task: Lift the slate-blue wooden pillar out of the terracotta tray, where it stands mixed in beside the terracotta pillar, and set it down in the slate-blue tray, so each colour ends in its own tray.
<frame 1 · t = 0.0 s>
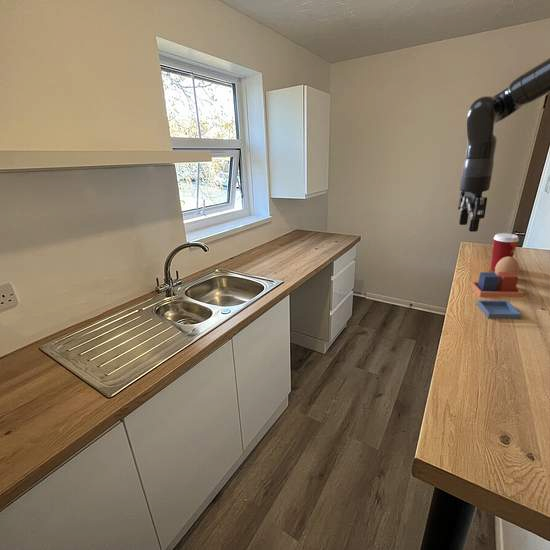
hand: (467, 227, 95), 23 cm above the table, tool pointing down, fingers open, 8 cm apart
egg: (504, 280, 109), on the table
paper cup: (498, 271, 116), on the table
terracotta pillar: (504, 291, 100), resting on terracotta tray
slate tray: (497, 312, 90), on the table
slate pillar: (486, 290, 102), resting on terracotta tray
terracotta tray: (495, 292, 101), on the table
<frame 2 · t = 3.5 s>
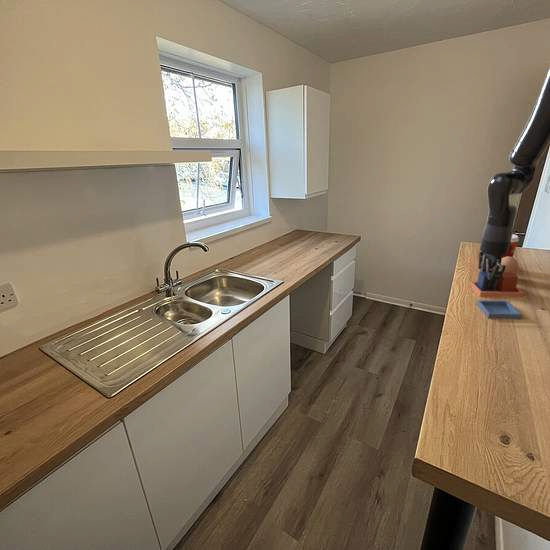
hand: (485, 285, 102), 2 cm above the table, tool pointing down, fingers closed on slate pillar, 4 cm apart
slate pillar: (485, 289, 102), resting on terracotta tray, touching gripper
everything else where it was.
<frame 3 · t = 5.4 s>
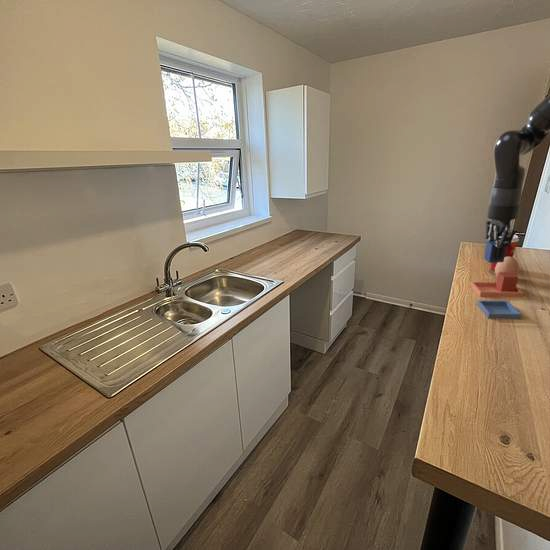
hand: (494, 255, 97), 13 cm above the table, tool pointing down, fingers closed on slate pillar, 4 cm apart
slate pillar: (493, 260, 97), point 11 cm above the table, touching gripper
everything else where it was.
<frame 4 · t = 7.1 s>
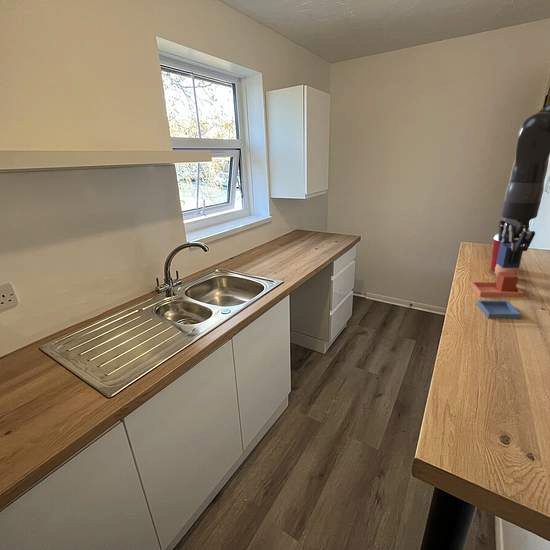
hand: (508, 260, 84), 16 cm above the table, tool pointing down, fingers closed on slate pillar, 4 cm apart
slate pillar: (507, 265, 85), point 15 cm above the table, touching gripper
everything else where it was.
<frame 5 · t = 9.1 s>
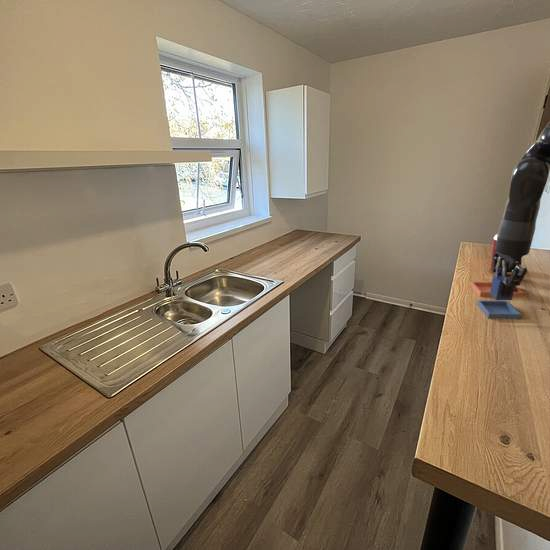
hand: (501, 292, 87), 7 cm above the table, tool pointing down, fingers closed on slate pillar, 4 cm apart
slate pillar: (500, 296, 88), point 5 cm above the table, touching gripper
everything else where it was.
when the fingers open (2 cm above the table, at t = 11.0 s): slate pillar stays where it is, resting on slate tray.
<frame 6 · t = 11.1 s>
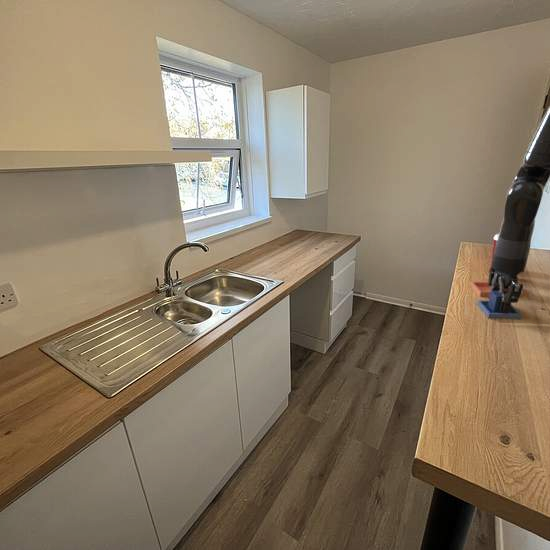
hand: (498, 306, 89), 2 cm above the table, tool pointing down, fingers open, 5 cm apart
slate pillar: (497, 311, 90), resting on slate tray
everything else where it was.
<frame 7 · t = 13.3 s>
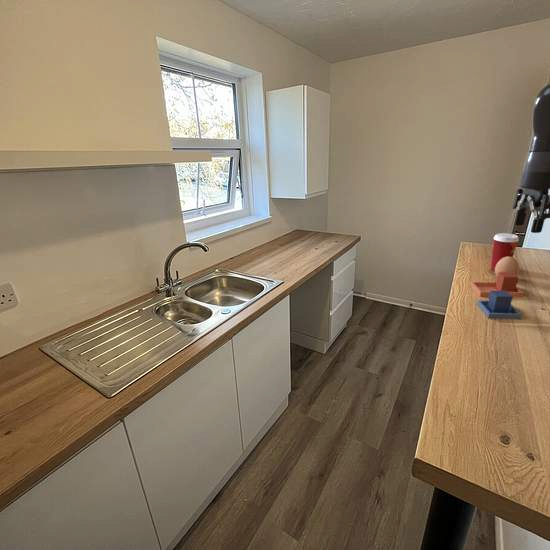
hand: (526, 228, 86), 24 cm above the table, tool pointing down, fingers open, 8 cm apart
nothing on the table moved.
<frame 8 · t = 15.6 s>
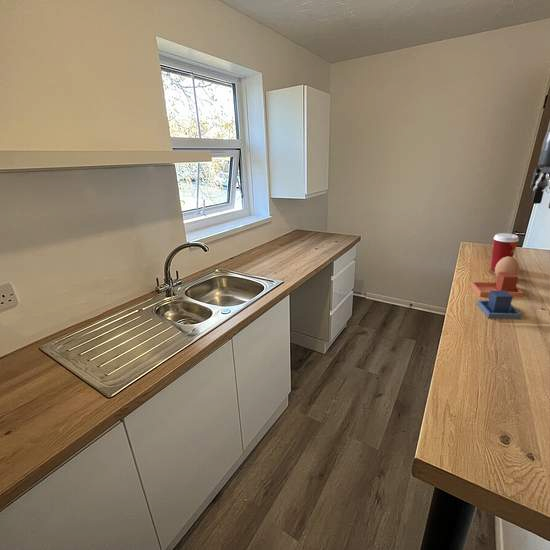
hand: (544, 205, 90), 28 cm above the table, tool pointing down, fingers open, 8 cm apart
nothing on the table moved.
at the end: slate pillar 0.1 cm off-centre in the slate tray, point 0.4 cm above the slate tray's base; slate pillar tilted 0°; terracotta pillar inside the target area in the terracotta tray (2.7 cm from its centre), point 0.4 cm above the terracotta tray's base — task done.
